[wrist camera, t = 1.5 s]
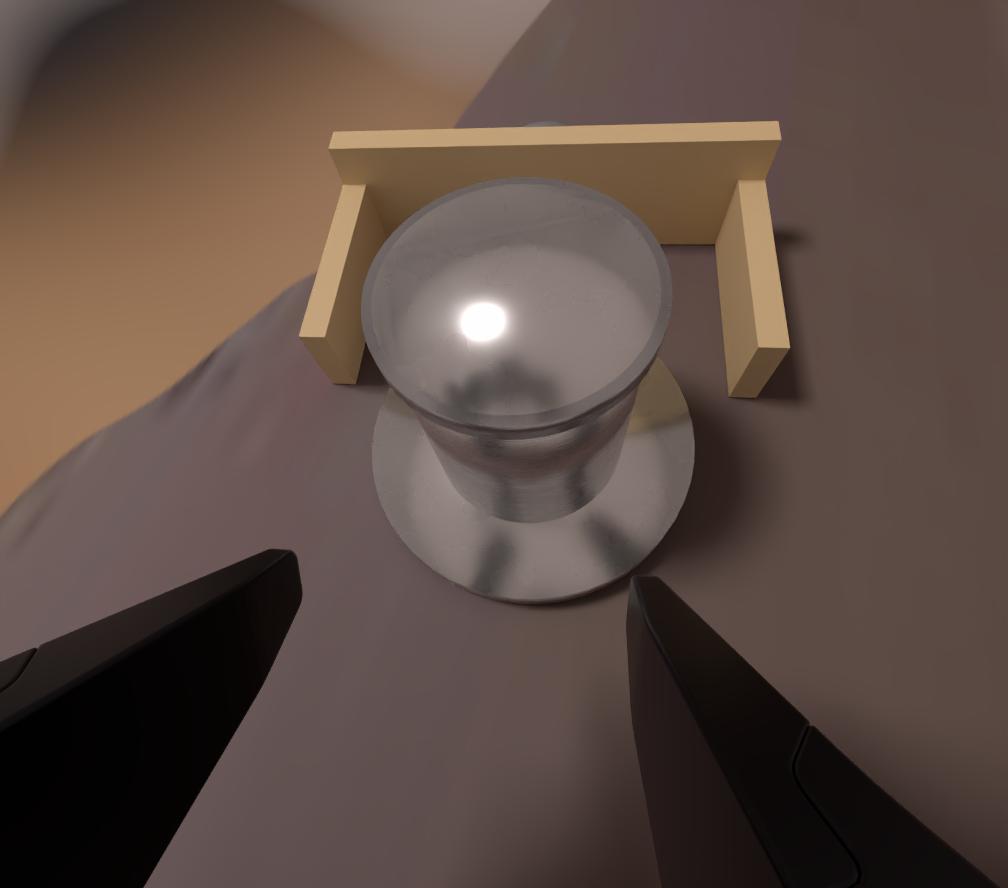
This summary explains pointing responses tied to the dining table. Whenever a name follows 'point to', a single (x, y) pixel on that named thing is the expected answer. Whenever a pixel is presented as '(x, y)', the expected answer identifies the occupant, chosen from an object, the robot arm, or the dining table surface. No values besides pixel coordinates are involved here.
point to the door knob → (526, 389)
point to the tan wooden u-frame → (582, 160)
